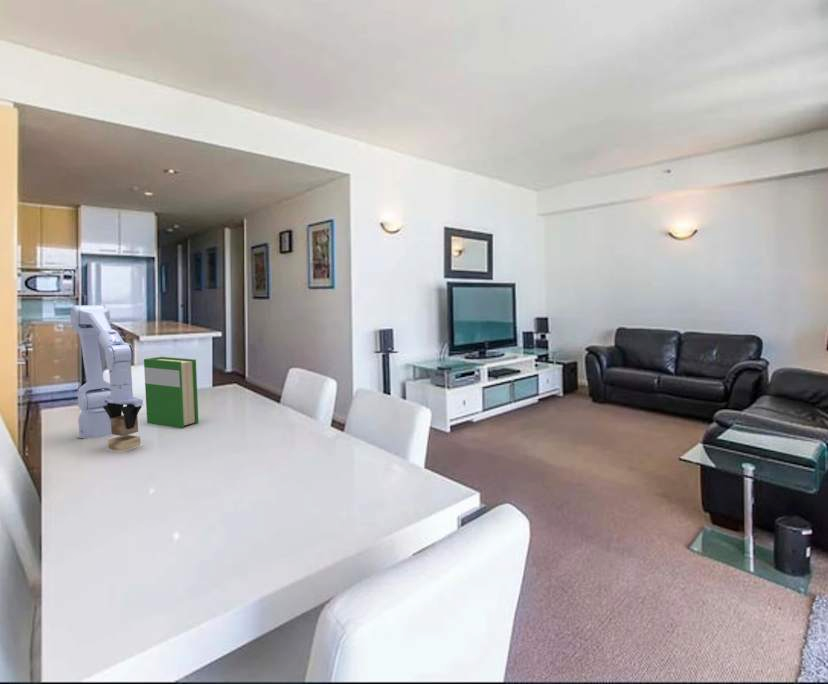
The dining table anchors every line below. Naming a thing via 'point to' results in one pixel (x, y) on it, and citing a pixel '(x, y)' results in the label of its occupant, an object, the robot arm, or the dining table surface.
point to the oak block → (124, 442)
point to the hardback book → (171, 391)
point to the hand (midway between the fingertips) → (123, 427)
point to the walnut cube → (122, 426)
